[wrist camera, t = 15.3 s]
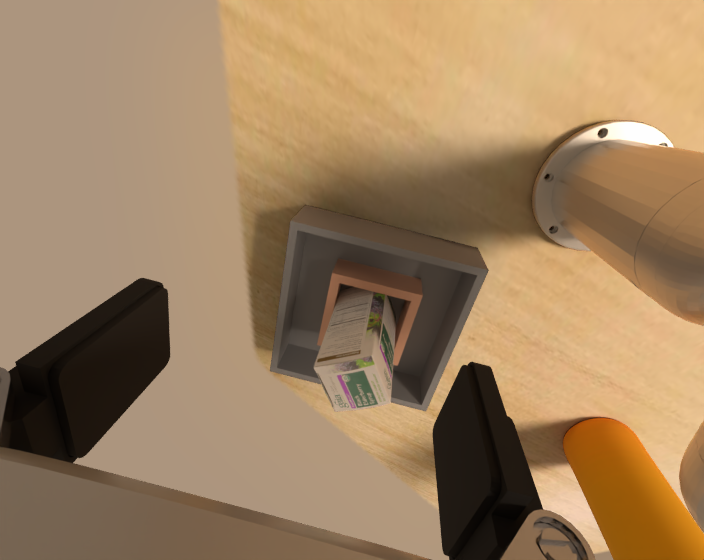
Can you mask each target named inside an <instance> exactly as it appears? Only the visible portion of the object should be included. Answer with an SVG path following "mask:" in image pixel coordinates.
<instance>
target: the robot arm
mask: <svg viewBox="0 0 704 560" xmlns="http://www.w3.org/2000/svg"><path fill="white" fill-rule="evenodd" d="M599 130H601V133H600V134H599V135H597V134H598V131H599ZM546 174H548V177H547V178H546V179H544V177H545V175H546ZM532 207H533V213H534V216H535V219H536V222H537V223H538V225H539V226H540V228H541V230H542V231H543V232H544V233H545V234H546V235H547V236H548V237H549V238H551V239H552V240H553V241H555V242H556V243H558V244H560V245H562V246H564V247H566V248H570V249H574V250H579V251H593V252H594V253H595V254H596V255H598V256H599V257H600V258H601V259H603V260H604V261H605V262H606V263H608V264H609V265H610V266H611V267H613V268H614V269H615V270H616V271H618V272H619V273H620V274H621V275H623V276H624V277H625V278H626V279H628V280H629V281H630V282H631V283H633V284H634V285H635V286H636V287H638V288H639V289H640V290H641V291H643V292H644V293H645V294H646V295H648V296H649V297H651V298H652V299H653V300H654V301H656V302H657V303H658V304H659V305H661V306H662V307H663V308H665V309H666V310H668V311H669V312H671V313H672V314H674V315H676V316H678V317H680V318H682V319H684V320H686V321H689V322H692V323H695V324H698V325H702V326H704V153H701V152H696V151H690V150H684V149H679V148H674V145H673V143H672V142H671V141H670V140H669V138H668V137H667V136H666V135H665V134H664V133H663V132H661V131H660V130H658V129H657V128H655V127H654V126H651V125H648V124H645V123H643V122H637V121H629V120H614V121H607V122H601V123H598V124H595V125H592V126H589V127H587V128H585V129H583V130H581V131H579V132H577V133H575V134H573V135H572V136H571V137H569V138H568V139H567V140H565V141H564V142H563V143H561V144H560V145H559V146H558V147H557V148H556V149H555V150H554V151H553V152H552V153H551V154H550V156H549V157H548V159H547V160H546V161H545V163H544V164H543V165H542V167H541V169H540V171H539V173H538V175H537V177H536V181H535V184H534V187H533V194H532ZM552 226H553V227H552ZM550 227H552V229H550ZM169 358H170V338H169V312H168V292H167V289H165V288H164V287H163V285H162V283H160V282H157V281H153V280H149V279H145V278H140V279H138V280H136V281H135V282H133V283H132V284H131V285H129V286H128V287H126V288H124V289H123V290H121V291H120V292H118V293H117V294H116V295H114V296H113V297H111V298H110V299H108V300H107V301H105V302H104V303H102V304H101V305H99V306H98V307H96V308H95V309H93V310H92V311H90V312H89V313H87V314H86V315H84V316H83V317H81V318H80V319H78V320H77V321H76V322H74V323H72V324H71V325H69V326H68V327H66V328H65V329H64V330H62V331H61V332H59V333H58V334H56V335H55V336H53V337H52V338H50V339H49V340H47V341H46V342H44V343H43V344H41V345H40V346H38V347H37V348H36V349H34V350H32V351H31V352H29V353H28V354H26V355H25V356H23V357H22V358H20V359H19V360H18V361H16V362H15V363H16V367H14V368H13V369H11V370H10V371H7V370H6V369H4V368H1V367H0V560H430V559H427V558H424V557H420V556H417V555H413V554H410V553H407V552H403V551H400V550H396V549H393V548H389V547H386V546H382V545H379V544H375V543H371V542H368V541H364V540H360V539H357V538H353V537H349V536H345V535H342V534H338V533H335V532H330V531H327V530H324V529H320V528H316V527H313V526H309V525H305V524H302V523H298V522H294V521H290V520H287V519H283V518H279V517H276V516H272V515H268V514H264V513H260V512H257V511H253V510H249V509H246V508H242V507H238V506H234V505H230V504H227V503H223V502H219V501H215V500H211V499H208V498H204V497H200V496H197V495H193V494H189V493H185V492H182V491H178V490H174V489H170V488H166V487H162V486H159V485H155V484H151V483H147V482H143V481H139V480H136V479H132V478H128V477H124V476H120V475H116V474H113V473H109V472H104V471H101V470H97V469H93V468H89V467H86V466H81V465H78V464H74V463H73V462H74V461H75V460H76V459H77V458H82V457H83V456H85V455H86V454H87V453H88V452H89V451H90V450H91V449H92V448H93V447H94V445H95V444H96V443H97V442H98V441H99V440H100V439H101V438H102V437H103V435H104V434H105V433H106V432H107V431H108V430H109V429H110V428H111V427H112V426H113V424H114V423H115V422H116V421H117V420H118V419H119V418H120V417H121V415H122V414H123V413H124V412H125V411H126V410H127V409H128V407H130V405H131V404H132V403H133V402H134V401H135V400H136V399H137V398H138V396H139V395H140V394H141V393H142V392H143V391H144V390H145V389H146V387H147V386H148V385H149V384H150V383H151V382H152V381H153V380H154V379H155V378H156V376H157V375H158V374H159V373H160V372H161V371H162V370H163V369H164V368H165V366H166V365H167V363H168V361H169ZM433 445H434V456H435V468H436V479H437V491H438V503H439V514H440V525H441V538H442V548H443V552H444V554H445V555H447V556H449V560H595V556H594V554H593V552H592V550H591V548H590V546H589V544H588V543H587V541H586V540H585V538H584V537H583V536H582V534H581V533H580V532H579V531H578V530H577V529H576V528H575V527H574V526H573V525H572V524H571V523H570V522H569V521H567V520H566V519H564V518H563V517H562V516H560V515H558V514H556V513H554V512H551V511H548V510H543V508H542V505H541V502H540V499H539V496H538V493H537V490H536V487H535V484H534V481H533V478H532V475H531V472H530V469H529V466H528V463H527V460H526V458H525V455H524V452H523V449H522V446H521V443H520V440H519V437H518V434H517V431H516V428H515V425H514V423H513V421H512V419H511V418H510V417H508V416H507V415H506V412H505V408H504V405H503V402H502V399H501V396H500V393H499V390H498V387H497V384H496V381H495V378H494V375H493V372H492V369H491V367H489V366H486V365H482V364H478V363H474V362H470V363H469V364H468V366H467V365H463V366H462V367H461V369H460V371H459V373H458V375H457V377H456V379H455V381H454V383H453V386H452V388H451V390H450V392H449V394H448V396H447V398H446V400H445V403H444V405H443V407H442V409H441V411H440V413H439V415H438V417H437V420H436V422H435V424H434V428H433ZM679 479H680V487H681V492H682V495H683V498H684V501H685V503H686V505H687V507H688V510H689V512H690V513H691V515H692V517H693V518H694V520H695V521H696V523H697V524H698V526H699V527H700V528H701V530H702V531H703V532H704V421H703V422H702V424H701V425H700V427H699V429H698V431H697V432H696V434H695V436H694V437H693V439H692V440H691V442H690V444H689V445H688V447H687V449H686V451H685V453H684V456H683V459H682V462H681V465H680V473H679Z"/></svg>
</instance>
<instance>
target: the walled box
mask: <svg viewBox="0 0 704 560" xmlns="http://www.w3.org/2000/svg"><path fill="white" fill-rule="evenodd" d="M488 271H489V270H488V268H487V266H486V264H485V262H484V260H483V258H482V256H481V254H480V252H479V250H478V248H476V247H472V246H468V245H464V244H460V243H456V242H452V241H448V240H444V239H440V238H436V237H432V236H428V235H424V234H420V233H416V232H412V231H408V230H404V229H400V228H396V227H392V226H388V225H384V224H380V223H376V222H372V221H368V220H364V219H360V218H356V217H352V216H348V215H344V214H340V213H336V212H332V211H328V210H324V209H320V208H316V207H312V206H308V205H305V206H304V207H303V208H302V209H301V210H300V211H299V212H298V213H297V214H296V215H295V217H294V218H293V219H292V220H291V221H290V228H289V236H288V243H287V250H286V257H285V265H284V272H283V279H282V287H281V294H280V301H279V309H278V316H277V323H276V331H275V338H274V345H273V352H272V360H271V367H270V371H272V372H275V373H279V374H283V375H287V376H291V377H295V378H299V379H303V380H306V381H310V382H314V383H318V384H321V382H320V379H319V377H318V375H317V373H316V371H315V370H314V364H315V362H316V359H317V356H318V353H319V350H320V347H321V345H322V342H323V339H324V336H325V333H326V330H327V328H328V325H329V322H330V319H331V316H332V313H333V311H334V308H335V305H336V302H337V299H338V296H339V294H340V291H341V290H345V289H348V288H352V287H357V288H361V289H364V290H368V291H372V292H376V293H380V294H384V295H388V296H390V299H391V301H392V304H393V308H394V311H395V315H396V330H395V347H394V361H393V375H392V390H391V403H395V404H399V405H403V406H407V407H411V408H415V409H419V410H422V411H426V410H427V408H428V406H429V403H430V401H431V399H432V397H433V394H434V392H435V390H436V388H437V385H438V383H439V381H440V379H441V376H442V374H443V372H444V370H445V367H446V365H447V363H448V361H449V358H450V356H451V354H452V352H453V349H454V347H455V345H456V343H457V340H458V338H459V336H460V334H461V331H462V329H463V327H464V325H465V322H466V320H467V318H468V316H469V313H470V311H471V309H472V307H473V304H474V302H475V300H476V298H477V295H478V293H479V291H480V289H481V286H482V284H483V282H484V280H485V277H486V275H487V273H488Z"/></svg>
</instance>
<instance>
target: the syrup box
mask: <svg viewBox="0 0 704 560" xmlns="http://www.w3.org/2000/svg"><path fill="white" fill-rule="evenodd" d="M395 330H396V315H395V311H394V308H393V304H392V301H391V299H390V296H388V295H384V294H380V293H376V292H372V291H368V290H364V289H361V288H357V287H352V288H348V289H345V290H341V291H340V294H339V296H338V299H337V302H336V305H335V308H334V311H333V313H332V316H331V319H330V322H329V325H328V328H327V330H326V333H325V336H324V339H323V342H322V345H321V347H320V350H319V353H318V356H317V359H316V362H315V364H314V370H315V371H316V373H317V375H318V377H319V379H320V382H321V384H322V387H323V389H324V391H325V393H326V395H327V397H328V399H329V401H330V403H331V405H332V407H333V409H334V411H336V412H338V411H352V410H360V409H367V408H372V407H377V406H382V405H386V404H390V403H391V390H392V375H393V361H394V347H395Z"/></svg>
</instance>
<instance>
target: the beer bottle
mask: <svg viewBox="0 0 704 560" xmlns="http://www.w3.org/2000/svg"><path fill="white" fill-rule="evenodd" d="M563 448H564V452H565V455H566V457H567V460H568V462H569V464H570V466H571V468H572V470H573V472H574V474H575V476H576V478H577V480H578V482H579V485H580V487H581V489H582V491H583V493H584V496H585V498H586V500H587V502H588V504H589V506H590V509H591V511H592V513H593V515H594V517H595V520H596V522H597V524H598V526H599V528H600V531H601V533H602V535H603V537H604V539H605V541H606V544H607V546H608V548H609V550H610V552H611V555H612V557H613V559H614V560H704V534H703V532H702V531H701V529H700V528H699V526H698V525H697V523H696V522H695V521H694V519H693V518H692V516H691V515H690V513H689V512H688V510H687V509H686V508H685V506H684V505H683V503H682V502H681V500H680V499H679V497H678V496H677V495H676V493H675V492H674V490H673V489H672V487H671V486H670V484H669V483H668V482H667V480H666V479H665V477H664V476H663V474H662V473H661V471H660V470H659V469H658V467H657V466H656V464H655V463H654V461H653V460H652V458H651V457H650V456H649V454H648V453H647V451H646V449H645V448H644V446H643V445H642V443H641V442H640V440H639V438H638V437H637V436H636V434H635V433H634V432H633V431H632V430H631V429H630V428H629V427H628V426H626V425H625V424H623V423H621V422H619V421H616V420H613V419H608V418H594V419H588V420H585V421H582V422H580V423H578V424H576V425H574V426H573V427H572V428H570V429H569V430H568V432H567V433H566V434H565V436H564V440H563Z"/></svg>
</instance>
